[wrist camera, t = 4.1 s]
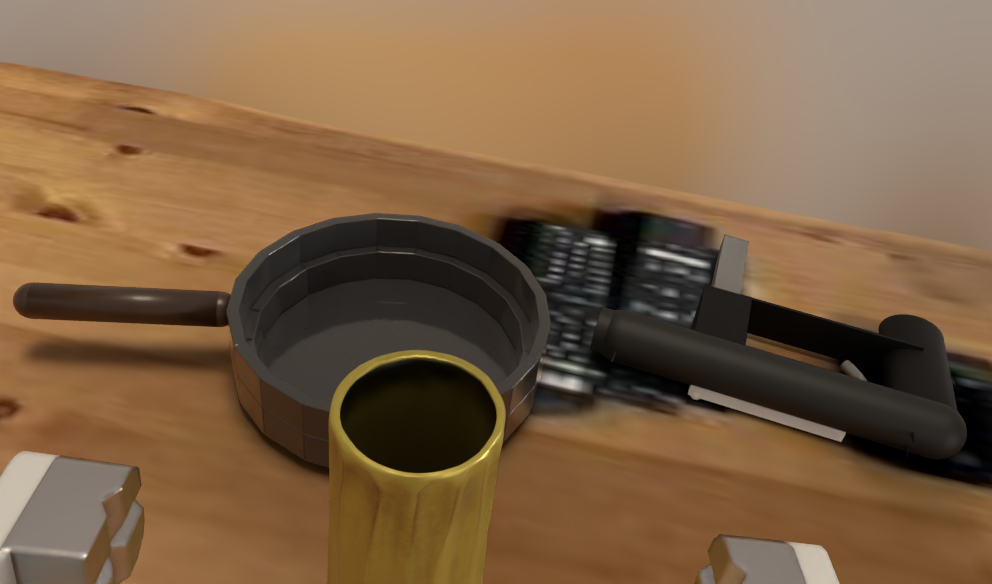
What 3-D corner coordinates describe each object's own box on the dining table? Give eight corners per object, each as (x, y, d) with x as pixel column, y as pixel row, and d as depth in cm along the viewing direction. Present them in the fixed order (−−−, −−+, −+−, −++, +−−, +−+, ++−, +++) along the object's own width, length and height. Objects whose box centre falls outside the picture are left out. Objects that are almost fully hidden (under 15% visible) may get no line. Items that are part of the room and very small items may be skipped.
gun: (642, 201, 58) (590, 333, 46) (947, 284, 55) (983, 452, 42) (631, 242, 60) (578, 380, 48) (925, 324, 57) (954, 497, 44)
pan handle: (242, 312, 45) (239, 285, 44) (236, 335, 44) (233, 308, 43) (25, 301, 44) (16, 274, 43) (12, 325, 42) (3, 297, 41)
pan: (524, 281, 54) (534, 222, 51) (552, 489, 42) (567, 426, 39) (260, 267, 52) (256, 205, 49) (206, 480, 40) (196, 414, 37)
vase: (487, 602, 36) (533, 358, 28) (459, 750, 32) (505, 512, 23) (347, 573, 37) (348, 323, 28) (299, 715, 32) (282, 467, 23)
